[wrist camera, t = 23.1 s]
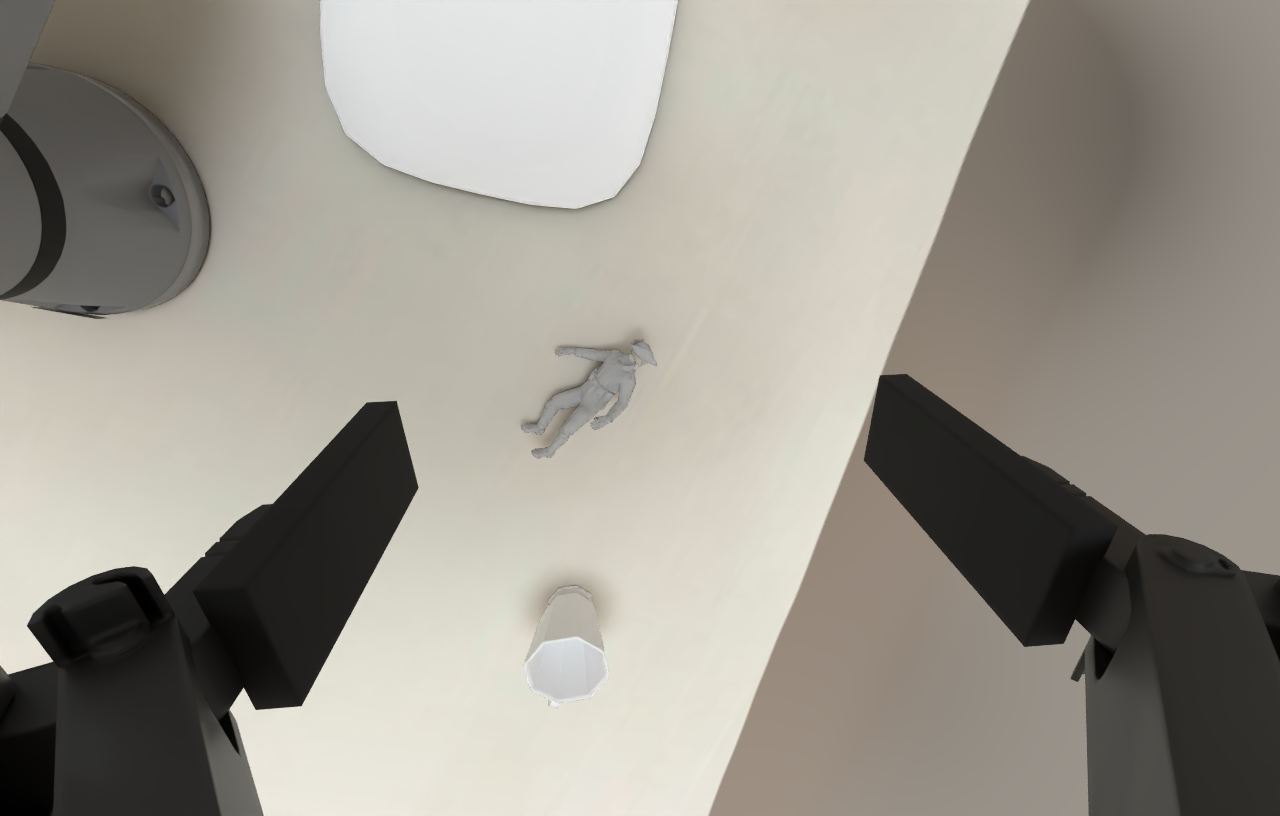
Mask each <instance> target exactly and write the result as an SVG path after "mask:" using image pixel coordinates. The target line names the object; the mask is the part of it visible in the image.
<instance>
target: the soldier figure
mask: <svg viewBox="0 0 1280 816" xmlns="http://www.w3.org/2000/svg"><path fill="white" fill-rule="evenodd" d="M630 344H631V347H632V350H633V351H634V352H635V354H636V355H637V356H639V357H640V359H641V361H642V362H641V365H640V366H642V364H645V363H650V364H653V365H655V366H657V363H656V361H655V359H654V356H653V353H652V351H651V348H650V347H649V345H648V344H647V343H645V342H644V341H643V339H642V340H634V341H633V342H631V343H630ZM558 351H559V352H558ZM556 352H557V353H556ZM631 352H632V351H631ZM555 353H556V354H559V353H561V354H560V355H558V357H559V356H561V355H564V354H568V355H570V354H575V356H578V357H582V358H586V359H589V360H595V361H602V362H604V363H603V365H602V366H600V367H597V368H596V369H595V370H593V371H592V372H591V373H590V375H589V378H588V380H587V381H586V382H585V383H584V384H583V385H582V386H580V387H577V388H574V389H571V390H566V391H564V392H561V393H559V394H556V395H554V396H553V397H552V398H551V400H549V401H548V402H547V403H546V404H545V409H544V412H543V414H542V416H541V418H540V420H539V422H538V424H527V423H525V424H522V425H521V429H522V430H523V431H524V432H526V433H530V432H535V433H536V434H537V435H541V434H542V433H543V432H544V430H545V427H546V426H547V425H548V423H549V422H550V420H551V419H552V418H553V417H554V415H555V414H556V411H558V409H565V408H572V407H575V406H578V407H577V408H576V410H575V411H574V412H573V413H572V414H571V415H570V416H569V417H568V418H567V419H566V420H565V422H564V423H563V424H562V427H561V429H560V430H559V433H558V435H557V436H556V438H555V439H554V441H553V442H552V443H551V445H550V446H549V447H546V448H537V449H534V450H532V451H531V452H532V455H533V456H534V457H535V458H541V457H544V456H546V457H547V458H551V457H552V456H553V455H554V453H555V451H556V450H557V449H558V448H559V447H560V446H561V445H562V444H564V443H565V442H566V441H567V440H568V438H569V436H570V435H573V434H574V433H575V432H576V431H578V429H579V428H580V427H582V426H583V425H584V424H585V423H586V422H588V421H589V420H590V419H591V418H593V417H594V416H595V415H596V413H597V412H598V411H599V410H602V409H604V407H605V406H606V404H607V403H608V402H609V401H610V400H611V399H612V398H613V397H614V396H615V394H614V393H615V392H618V391H619V396H618V401H617V402H616V403H615V404H614V405H613V407H612V408H611V409H610V410H609V412H608V413H607V415H606V416H600V417H596V418H594V420H595V419H597V420H595V421H593V422H591V423H590V424H593V423H595V424H593V425H591V427H592V426H594V427H592V429H594V428H595V429H594V430H597V429H600V428H602V427H604V426H605V425H606V424H608V423H609V422H612V421H613V420H614V419H615V418H616V417H617V416H618V415H619V414H620V413H621V412H622V411H623V410H624V409H625V408H626V407H627V406H628V402H629V400H630V398H631V393H632V392H633V389H634V386H635V384H636V382H635V373H634V372H635V369H634V367H635V365H636V363H635V361H634V360H635V359H634V356H633V355H632V354H630V355H623V353H621V352H620V351H619V350H617V349H616V350H608V351H607V350H605V351H602V350H597V349H587V348H567V347H561V348H558V349H556V350H555ZM638 367H639V364H638ZM596 422H598V423H596ZM596 425H597V426H596Z"/></svg>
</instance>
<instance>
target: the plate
mask: <svg viewBox="0 0 1280 816" xmlns="http://www.w3.org/2000/svg"><path fill="white" fill-rule="evenodd" d="M677 4H678V0H320V36H321V47H322V57H323V68H324V78H325V88H326V90H327V93H328V95H329V97H330V100H331V102H332V104H333V106H334V109H335V111H336V113H337V116H338V118H339V120H340V123H341V125H342V127H343V129H344V132H345V134H346V135H347V136H348V137H349V138H351V139H352V140H353V141H354V142H355V143H357V144H358V145H359V146H360V147H362V148H363V149H364V150H365V151H367V152H368V153H369V154H370V155H372V156H373V157H374V158H375V159H377V160H378V161H379V162H380V163H382V164H383V165H385V166H387V167H390V168H393V169H396V170H398V171H401V172H404V173H407V174H409V175H412V176H415V177H418V178H420V179H423V180H426V181H429V182H431V183H435V184H440V185H444V186H448V187H452V188H456V189H461V190H465V191H469V192H473V193H477V194H481V195H486V196H491V197H496V198H500V199H505V200H510V201H515V202H519V203H524V204H529V205H538V206H549V207H561V208H572V209H578V208H581V207H584V206H588V205H591V204H594V203H597V202H600V201H603V200H607V199H610V198H613V197H615V196H616V194H617V193H618V192H619V191H620V189H621V188H622V187H623V185H624V184H625V183H626V182H627V180H628V179H629V178H630V176H631V175H632V174H633V173H634V171H635V170H636V169H637V167H638V166H639V165H640V163H641V159H642V156H643V153H644V150H645V147H646V144H647V141H648V138H649V134H650V131H651V128H652V125H653V122H654V119H655V116H656V111H657V106H658V101H659V97H660V92H661V87H662V82H663V78H664V73H665V68H666V63H667V58H668V53H669V48H670V42H671V37H672V31H673V26H674V20H675V15H676V10H677Z"/></svg>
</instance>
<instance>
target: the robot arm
mask: <svg viewBox="0 0 1280 816" xmlns="http://www.w3.org/2000/svg"><path fill="white" fill-rule="evenodd" d="M54 2H55V0H0V300H3V301H9V302H15V303H21V304H27V305H33V306H39V307H33V308H38V309H44V310H50V311H55V312H61V313H66V314H72V315H78V316H83V317H89V318H95V319H100V318H104V317H99V316H93V315H88V314H96V315H108V314H118V313H124V312H130V311H136V310H141V309H146V308H150V307H154V306H157V305H159V304H161V303H164V302H166V301H168V300H170V299H171V298H173V297H175V296H176V295H177V294H179V293H180V292H181V291H182V290H184V289H185V288H186V287H187V286H188V285H189V284H190V282H191V281H192V280H193V279H194V277H195V276H196V274H197V273H198V271H199V269H200V267H201V265H202V263H203V261H204V258H205V255H206V252H207V247H208V242H209V232H210V230H209V213H208V206H207V202H206V197H205V194H204V191H203V188H202V185H201V182H200V180H199V177H198V175H197V173H196V171H195V169H194V167H193V165H192V163H191V161H190V160H189V158H188V156H187V155H186V153H185V151H184V150H183V149H182V147H181V146H180V144H179V143H178V142H177V140H176V139H175V138H174V137H173V135H172V134H171V133H170V132H169V131H168V129H167V128H166V127H165V126H164V125H163V124H162V123H161V122H160V121H159V120H158V119H157V118H156V117H154V116H153V115H152V114H151V113H150V112H149V111H148V110H146V109H145V108H144V107H143V106H141V105H140V104H139V103H137V102H136V101H135V100H133V99H131V98H130V97H128V96H127V95H125V94H124V93H122V92H120V91H118V90H116V89H115V88H113V87H111V86H109V85H107V84H104V83H102V82H100V81H98V80H95V79H92V78H89V77H86V76H83V75H80V74H76V73H73V72H70V71H66V70H63V69H60V68H56V67H52V66H48V65H43V64H37V63H29V60H30V58H31V56H32V53H33V51H34V49H35V46H36V44H37V42H38V39H39V37H40V35H41V32H42V30H43V28H44V25H45V23H46V21H47V18H48V16H49V14H50V11H51V9H52V7H53V4H54ZM54 308H55V309H54ZM82 313H85V314H82ZM864 461H865V462H866V464H867V465H868V466H869V467H870V468H871V469H872V470H873V472H874V473H875V474H876V475H877V476H878V477H879V478H880V480H881V481H882V482H883V483H884V484H885V486H886V487H887V488H888V489H889V490H890V491H891V492H892V494H893V495H894V496H895V497H896V498H897V499H898V501H899V502H900V503H901V504H902V505H903V506H904V508H905V509H906V510H907V511H908V512H909V513H910V514H911V516H912V517H913V518H914V519H915V520H916V521H917V523H918V524H919V525H920V526H921V527H922V528H923V530H924V531H925V532H926V533H927V534H928V535H929V537H930V538H931V539H932V540H933V541H934V542H935V544H936V545H937V546H938V547H939V548H940V549H941V550H942V552H943V553H944V554H945V555H946V556H947V557H948V559H949V560H950V561H951V562H952V563H953V564H954V565H955V567H956V568H957V569H958V570H959V571H960V573H961V574H962V575H963V576H964V577H965V578H966V579H967V581H968V582H969V583H970V584H971V585H972V586H973V588H974V589H975V590H976V591H977V592H978V593H979V595H980V596H981V597H982V598H983V599H984V600H985V601H986V602H987V604H988V605H989V606H990V607H991V608H992V610H993V611H994V612H995V613H996V614H997V615H998V617H999V618H1000V619H1001V620H1002V621H1003V622H1004V624H1005V625H1006V626H1007V627H1008V628H1009V629H1010V630H1011V632H1012V633H1013V634H1014V635H1015V636H1016V637H1017V638H1018V640H1019V641H1020V642H1021V643H1022V644H1023V646H1025V647H1028V646H1041V645H1053V644H1063V643H1064V642H1065V640H1066V637H1067V635H1068V633H1069V631H1070V629H1071V627H1072V625H1073V623H1074V620H1075V619H1076V620H1077V621H1078V622H1079V623H1080V624H1081V625H1082V626H1083V627H1084V628H1085V629H1086V630H1087V631H1088V632H1089V633H1090V634H1091V637H1090V639H1089V641H1088V643H1087V645H1086V647H1085V649H1084V651H1083V653H1082V655H1081V657H1080V659H1079V661H1078V663H1077V665H1076V667H1075V669H1074V671H1073V674H1072V676H1071V679H1072V680H1075V681H1077V682H1078V681H1079V679H1080V677H1081V675H1082V674H1085V684H1086V723H1087V759H1088V761H1087V762H1088V801H1089V816H1280V576H1278V575H1271V574H1264V573H1257V572H1250V571H1243V570H1240V568H1239V567H1238V566H1237V565H1236V564H1235V563H1233V562H1232V561H1230V560H1229V559H1227V558H1226V557H1225V556H1223V555H1222V554H1220V553H1218V552H1216V551H1214V550H1212V549H1210V548H1208V547H1206V546H1204V545H1201V544H1198V543H1195V542H1193V541H1190V540H1187V539H1184V538H1179V537H1174V536H1169V535H1162V534H1160V535H1159V534H1158V535H1157V534H1153V535H1152V534H1149V535H1145V534H1144V533H1142V532H1141V531H1139V530H1138V529H1137V528H1135V527H1134V526H1132V525H1131V524H1129V523H1128V522H1126V521H1125V520H1124V519H1122V518H1121V517H1119V516H1118V515H1117V514H1115V513H1114V512H1112V511H1111V510H1109V509H1108V508H1107V507H1105V506H1103V505H1102V504H1101V503H1099V502H1098V501H1096V500H1095V499H1094V498H1092V497H1090V496H1086V493H1085V492H1084V491H1082V490H1081V489H1079V488H1078V487H1076V486H1075V485H1070V483H1069V481H1068V480H1066V479H1065V478H1063V477H1062V476H1061V475H1059V474H1058V473H1056V472H1055V471H1053V470H1052V469H1051V468H1049V467H1047V466H1045V465H1042V464H1040V463H1038V462H1036V461H1033V460H1031V459H1029V458H1027V457H1024V456H1020V455H1019V454H1017V453H1016V452H1014V451H1013V450H1011V449H1010V448H1009V447H1007V446H1006V445H1005V444H1003V443H1002V442H1000V441H999V440H998V439H996V438H995V437H993V436H992V435H991V434H989V433H988V432H986V431H985V430H984V429H982V428H981V427H979V426H978V425H977V424H975V423H974V422H973V421H971V420H970V419H968V418H967V417H966V416H964V415H963V414H961V413H960V412H959V411H957V410H956V409H954V408H953V407H952V406H950V405H949V404H948V403H946V402H945V401H943V400H942V399H941V398H939V397H938V396H936V395H935V394H934V393H932V392H931V391H929V390H928V389H927V388H925V387H923V386H922V385H921V384H920V383H918V382H917V381H915V380H914V379H913V378H911V377H910V376H908V375H907V374H899V375H880V377H879V382H878V388H877V393H876V398H875V404H874V409H873V414H872V419H871V425H870V431H869V435H868V441H867V446H866V451H865V457H864ZM417 490H418V484H417V480H416V476H415V472H414V468H413V464H412V460H411V456H410V452H409V448H408V444H407V440H406V436H405V433H404V429H403V425H402V421H401V417H400V413H399V409H398V405H397V401H387V402H368V403H366V404H365V405H364V406H363V407H362V408H361V409H360V410H359V412H358V413H357V414H356V415H355V416H354V417H353V418H352V419H351V420H350V421H349V422H348V423H347V425H346V426H345V427H344V428H343V429H342V430H341V431H340V432H339V433H338V434H337V435H336V436H335V437H334V439H333V440H332V441H331V442H330V443H329V444H328V445H327V446H326V447H325V448H324V449H323V450H322V452H321V453H320V454H319V455H318V456H317V457H316V458H315V459H314V460H313V461H312V462H311V463H310V464H309V466H308V467H307V468H306V469H305V470H304V471H303V472H302V473H301V474H300V475H299V476H298V477H297V479H296V480H295V481H294V482H293V483H292V484H291V485H290V486H289V487H288V488H287V489H286V490H285V492H284V493H283V494H282V495H281V496H280V497H279V498H278V499H277V500H276V501H275V502H274V503H273V504H268V505H261V506H260V507H258V508H257V509H255V510H253V511H252V512H250V513H249V514H247V515H246V516H244V517H242V518H241V519H239V520H238V521H236V522H235V524H234V525H233V526H232V527H231V528H230V529H229V530H228V531H227V532H226V533H225V534H224V535H223V536H222V537H221V538H220V542H216V543H215V544H214V545H213V546H212V547H211V548H210V549H209V550H208V551H207V552H206V553H205V557H201V558H200V559H199V560H198V561H197V562H196V563H195V564H194V565H193V566H192V567H191V568H190V569H189V570H188V571H187V572H186V573H185V575H184V576H183V577H182V578H181V579H180V580H179V581H178V582H177V583H176V584H175V585H174V586H173V587H172V588H171V589H170V590H169V591H168V592H167V593H166V594H165V595H164V594H163V592H162V590H161V589H160V587H159V585H158V583H157V581H156V580H155V578H154V576H153V575H152V574H151V572H150V571H149V570H148V569H147V568H141V567H135V566H133V567H125V568H118V569H113V570H110V571H106V572H103V573H100V574H97V575H93V576H91V577H89V578H86V579H84V580H82V581H80V582H78V583H76V584H73V585H71V586H69V587H67V588H66V589H64V590H63V591H61V592H60V593H58V594H56V595H55V596H53V597H52V598H50V599H48V600H47V601H46V602H45V603H44V604H43V605H42V606H41V607H40V608H39V609H38V610H37V611H35V612H34V613H33V615H32V617H31V619H30V621H29V623H28V625H27V627H28V628H29V629H30V631H31V632H32V633H33V635H34V636H35V637H36V639H37V640H38V641H39V643H40V644H41V645H42V647H43V648H44V649H45V651H46V652H47V653H48V655H49V656H50V657H51V659H52V660H53V661H54V662H51V663H47V664H44V665H40V666H37V667H33V668H30V669H26V670H23V671H19V672H16V673H12V674H9V675H8V674H7V673H6V672H5V671H4V670H3V668H2V667H1V666H0V816H264V815H263V812H262V808H261V805H260V801H259V798H258V794H257V791H256V787H255V784H254V781H253V777H252V774H251V770H250V767H249V763H248V760H247V756H246V753H245V750H244V746H243V743H242V739H241V736H240V732H239V729H238V726H237V722H236V720H235V718H234V716H233V715H232V713H231V711H230V707H231V706H232V704H233V703H234V701H235V700H236V698H237V697H238V695H239V694H240V692H241V691H242V689H243V688H244V689H245V691H246V692H247V694H248V696H249V698H250V700H251V702H252V704H253V705H254V707H255V709H256V710H260V709H272V708H285V707H297V706H302V704H303V702H304V700H305V699H306V697H307V695H308V693H309V691H310V689H311V687H312V686H313V684H314V682H315V680H316V678H317V676H318V674H319V672H320V671H321V669H322V667H323V665H324V663H325V661H326V659H327V658H328V656H329V654H330V652H331V650H332V648H333V646H334V644H335V643H336V641H337V639H338V637H339V635H340V633H341V631H342V630H343V628H344V626H345V624H346V622H347V620H348V618H349V617H350V615H351V613H352V611H353V609H354V607H355V605H356V603H357V602H358V600H359V598H360V596H361V594H362V592H363V590H364V589H365V587H366V585H367V583H368V581H369V579H370V577H371V575H372V574H373V572H374V570H375V568H376V566H377V564H378V562H379V561H380V559H381V557H382V555H383V553H384V551H385V549H386V547H387V546H388V544H389V542H390V540H391V538H392V536H393V534H394V533H395V531H396V529H397V527H398V525H399V523H400V521H401V519H402V518H403V516H404V514H405V512H406V510H407V508H408V506H409V505H410V503H411V501H412V499H413V497H414V495H415V493H416V492H417Z"/></svg>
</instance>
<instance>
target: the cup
mask: <svg viewBox="0 0 1280 816" xmlns="http://www.w3.org/2000/svg"><path fill="white" fill-rule="evenodd" d="M548 605H549V606H548V607H547V608H546V610H545V612H544V614H543V616H542V618H541V620H540V621H539V623H538V626H537V629H536V632H535V635H534V637H533V640H532V643H531V646H530V648H529V651H528V654H527V656H526V659H525V662H524V668H525V672H526V676H527V680H528V684H529V688H530V690H531V691H533V692H535V693H537V694H539V695H541V696H543V697H545V698H547V699H548V705H549V707H553V708H558V707H559V705H560V703H566V702H572V701H578V700H584V699H590V698H591V697H592V696H593V694H594V693H595V692H596V691H597V690H598V689H599V688H600V687H601V686H602V685H603V684H604V682H605V681H606V680H607V679H608V678H609V673H608V668H607V662H606V657H605V651H604V646H603V641H602V637H601V633H600V628H599V623H598V618H597V614H596V611H595V608H594V606H593V601H592V596H591V593H589V592H587V591H586V590H584V589H582V588H580V587H579V586H577V585H575V586H568V587H562V588H558V589H557V591H556V592H555V593H554V594H553V595H552V597H551V598H550V599H549V600H548Z"/></svg>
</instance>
